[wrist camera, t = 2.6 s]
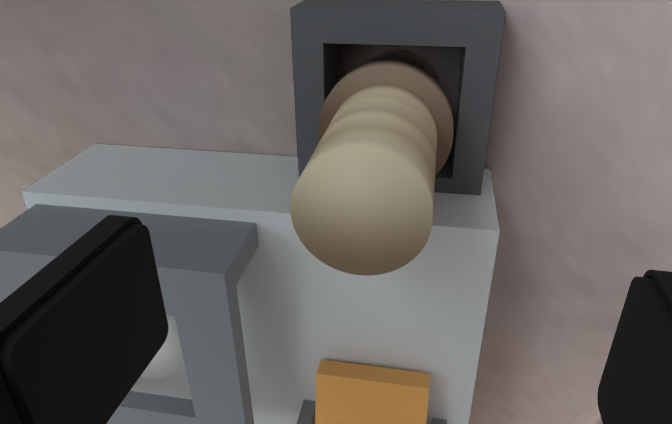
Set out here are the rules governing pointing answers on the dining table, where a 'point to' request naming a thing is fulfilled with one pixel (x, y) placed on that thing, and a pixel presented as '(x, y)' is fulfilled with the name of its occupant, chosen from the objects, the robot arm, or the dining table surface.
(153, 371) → the button
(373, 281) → the switch housing
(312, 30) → the holder
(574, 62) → the dining table surface
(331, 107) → the ridged handle
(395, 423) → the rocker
